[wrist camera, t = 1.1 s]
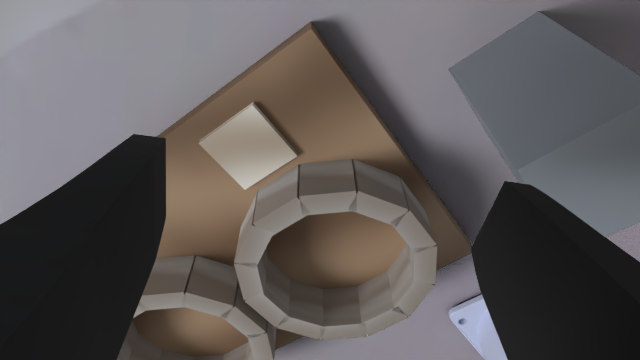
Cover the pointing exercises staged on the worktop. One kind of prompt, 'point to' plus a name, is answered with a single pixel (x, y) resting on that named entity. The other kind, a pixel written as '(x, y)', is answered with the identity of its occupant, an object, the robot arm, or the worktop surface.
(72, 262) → the robot arm
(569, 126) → the plug
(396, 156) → the socket board
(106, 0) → the worktop surface
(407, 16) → the worktop surface
